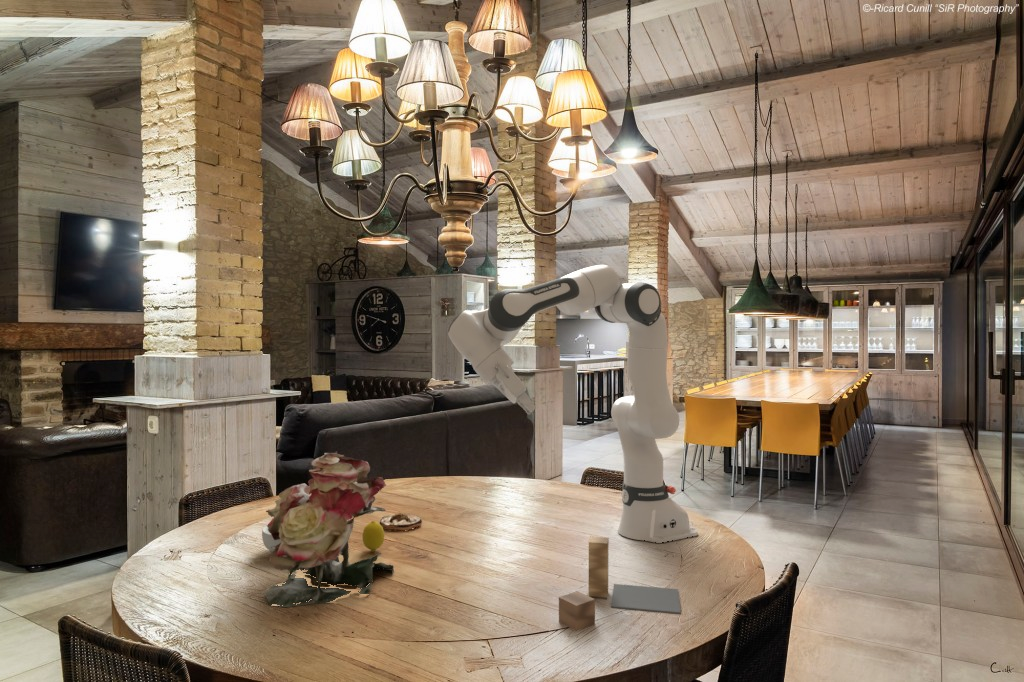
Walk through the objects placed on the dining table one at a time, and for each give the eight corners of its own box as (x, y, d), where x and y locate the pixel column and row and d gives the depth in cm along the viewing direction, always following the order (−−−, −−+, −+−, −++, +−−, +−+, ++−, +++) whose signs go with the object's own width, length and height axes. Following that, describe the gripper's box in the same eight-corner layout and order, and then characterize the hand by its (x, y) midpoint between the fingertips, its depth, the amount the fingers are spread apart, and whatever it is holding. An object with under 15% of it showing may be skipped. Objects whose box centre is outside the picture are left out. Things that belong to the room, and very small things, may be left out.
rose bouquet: (282, 565, 155) (281, 443, 155) (400, 566, 154) (400, 444, 154) (232, 610, 129) (232, 464, 129) (373, 612, 128) (374, 465, 128)
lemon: (388, 549, 166) (388, 519, 166) (377, 556, 161) (377, 524, 161) (369, 547, 168) (369, 517, 168) (358, 553, 163) (358, 522, 163)
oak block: (588, 597, 136) (588, 542, 136) (590, 590, 140) (590, 536, 140) (607, 599, 135) (607, 543, 135) (608, 591, 139) (608, 537, 139)
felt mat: (611, 607, 131) (611, 606, 131) (613, 585, 143) (613, 583, 143) (680, 613, 128) (680, 612, 128) (677, 590, 140) (677, 589, 140)
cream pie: (424, 518, 197) (424, 504, 197) (427, 532, 182) (427, 518, 182) (375, 520, 194) (375, 507, 194) (375, 535, 179) (375, 521, 179)
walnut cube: (577, 615, 127) (577, 590, 127) (594, 624, 123) (595, 599, 123) (558, 622, 124) (558, 597, 124) (576, 631, 120) (576, 605, 120)
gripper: (506, 353, 146) (545, 399, 144) (505, 365, 166) (539, 405, 164) (485, 371, 145) (524, 417, 143) (487, 380, 165) (521, 421, 163)
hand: (532, 411), depth 154 cm, fingers open, 8 cm apart
